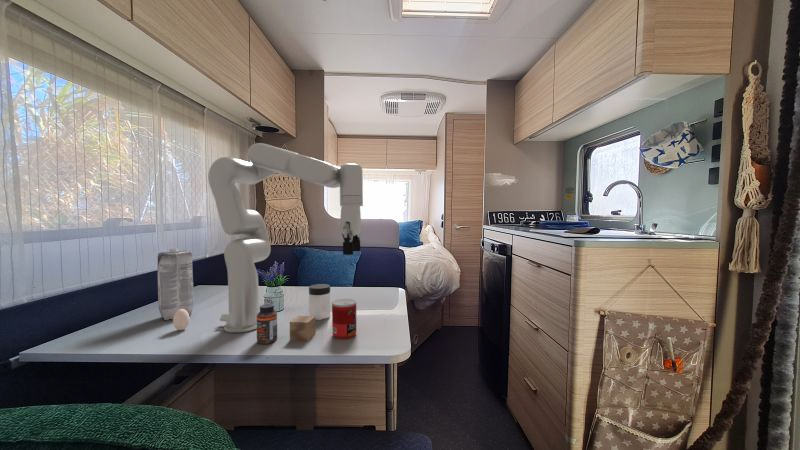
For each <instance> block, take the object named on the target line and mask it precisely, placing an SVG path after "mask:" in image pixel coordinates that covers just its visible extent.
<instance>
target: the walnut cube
mask: <svg viewBox="0 0 800 450" xmlns="http://www.w3.org/2000/svg"><path fill="white" fill-rule="evenodd" d="M315 335H316V320H315V316H309V315H297V316H296V317H294V318H293V319H292V320H290V321H289V342H290V341H295V342H309V341H310V340H311V339H312V338H313V337H314V336H315Z"/></svg>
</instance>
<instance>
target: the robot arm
mask: <svg viewBox="0 0 800 450" xmlns="http://www.w3.org/2000/svg"><path fill="white" fill-rule="evenodd" d="M247 158H248V160H249V161H246V160H244V159H240V158H237V157H232V156H223V157H220V158H217V159H216V160H214V161H213V163H212V164H211V166H210V167H209V170H208V176H207V179H208V184H209V188H210V190H211V192H212V195H213V198H214V201H215V205H216V206H215V207H216V209H217V213H218V217H219V220H220V224H221V228H222V230H223V232H224V233H225V234H227V235H229V236H243V238H236V239H234V240H231V241H230V242H228V243H227V244H226V246H225V248H224V251H223V256H224V257H223V258H224V261H225V266H226V271H227V286H228V290H227V293H228V296H227V297H228V313H222V314H221V316H220V318H219V321H220V322H225V325H223V326H224V327H223V330H224V332H226V333H233V334H234V333H235V334H237V333H238V334H239V333H246V332H251V331H255V330H257V314H258V313H259V312H260V303H259V300H260V298H259V296H260V295H259V274H258V271H257V268H256V264H255V263H259V262H263V261H265V260H266V259H268V257H269V256H270V255H271V250H272V249H271V248H272V247H271V242H270V238H269V234H268V231H267V230H268V229H267V227H266V223H265V220H264V217H263V216H262V215H261V214H260V212H258V211H256V210H254V209H250V208H249V209H248V208H247V209H246V207H245V204H244V200H243V196H242V194H241V192H240V190H239V189H238V188H237V186H236V185H235V183H236V184H241V185H242V184H243V185H247V186H249V185H256V184H258V183H260V182H261V181H264V180H265V179H268V178H269V177H271V176H273V175H275V174H280V175H282V176H286V177H289V178H295V179H299V180H302V181H305V182H309V183H312V184H316V185H318V186H321V187H325V188H331V189H334V188H335V189H336V188H339V206H340V207H341V209H340V217H339V219H340V221H339V222H340V223H339V235H341V236H342V255H345V256H346V255H347V256H352V255H354V252H360V251H361V235H360V234H361V233H362V218H361V216H362V215H361V214H362V213H361V207H363V206H364V203H363V202H364V199H363V198H364V197H363V196H364V195H363V193H364V190H363V184H364V183H363V176H364V175H363V168H362V166H361V164H356V163H344V164H342V165H340V166H336V165H333V164H331V163H330V162H329V163H328V162H326V161H323V160H320V159H317V158H314V157H310V156H307V155H303V154H299V153H298V152H294V151H292V150H287V149H284V148H280V147H276V146H273V145H271V144H267V143H262V142H258V143H253V144H252V145H250V147H249V148H248V149H247Z"/></svg>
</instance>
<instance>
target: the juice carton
mask: <svg viewBox="0 0 800 450" xmlns="http://www.w3.org/2000/svg"><path fill="white" fill-rule="evenodd" d="M168 249H169V250H168V252H167V251H164V252H161V251H160V252H159V253H158V254H157V264H156V265H157V294H158V295H157V296H158V297H157V300H158V309H159V313H160V317H161V318H162V317H163V318H164V319H163V318H162V319H163V320H164V321H165V320H167V321H170V320H169V319H172V320H173V318H174V315H175V313H176V312H177V311H178V310H180V309H184V310H186V311H187V312H188V314H189V315H191V316H192V314H193V309H194V277H193V275H194V273H193V255H192V252H190V251H188V250H180V251H179V247H178V248H168Z"/></svg>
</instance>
